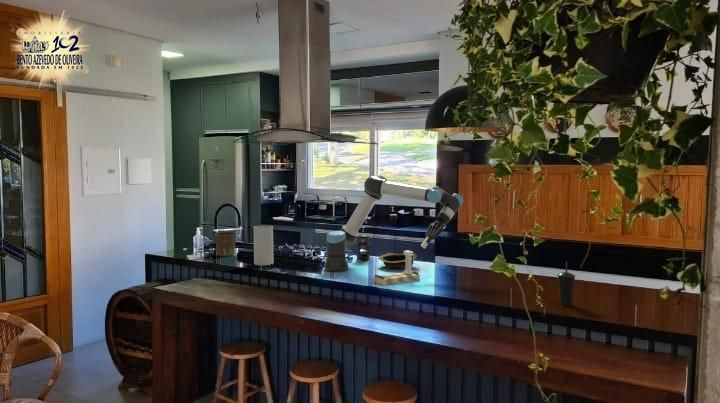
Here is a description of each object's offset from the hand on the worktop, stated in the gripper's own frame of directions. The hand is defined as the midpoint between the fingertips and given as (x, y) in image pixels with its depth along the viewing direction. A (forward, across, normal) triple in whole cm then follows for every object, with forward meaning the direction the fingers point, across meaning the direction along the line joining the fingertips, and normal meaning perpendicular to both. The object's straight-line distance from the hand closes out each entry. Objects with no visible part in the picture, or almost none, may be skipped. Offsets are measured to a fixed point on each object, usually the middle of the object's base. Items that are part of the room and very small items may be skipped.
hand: (422, 246), depth 290 cm
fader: (+17, 0, -3) cm, 17 cm away
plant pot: (+63, +139, +39) cm, 158 cm away
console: (+25, 0, 0) cm, 25 cm away
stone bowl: (+9, +32, -16) cm, 37 cm away
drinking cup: (+1, -82, -25) cm, 86 cm away
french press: (+11, +67, -14) cm, 69 cm away
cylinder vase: (+56, +89, +32) cm, 110 cm away
